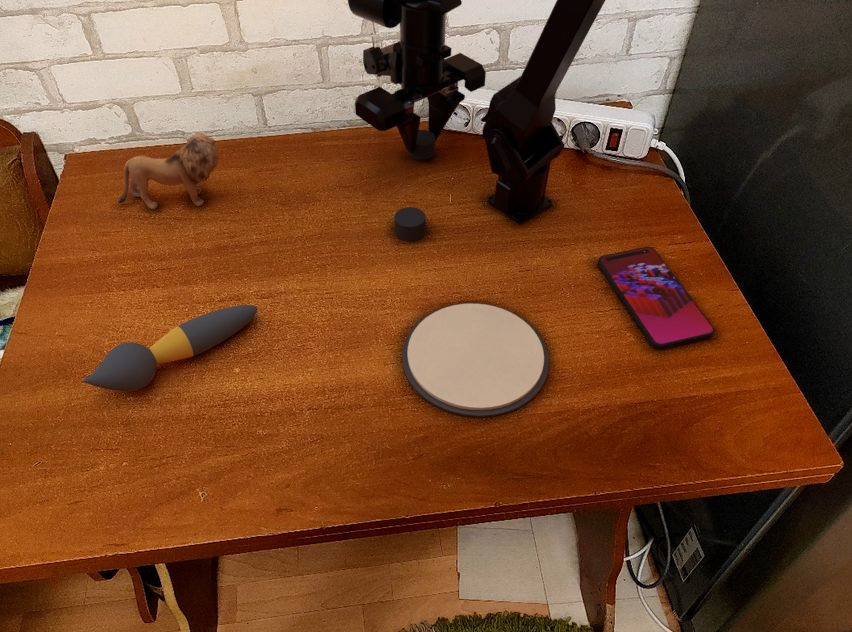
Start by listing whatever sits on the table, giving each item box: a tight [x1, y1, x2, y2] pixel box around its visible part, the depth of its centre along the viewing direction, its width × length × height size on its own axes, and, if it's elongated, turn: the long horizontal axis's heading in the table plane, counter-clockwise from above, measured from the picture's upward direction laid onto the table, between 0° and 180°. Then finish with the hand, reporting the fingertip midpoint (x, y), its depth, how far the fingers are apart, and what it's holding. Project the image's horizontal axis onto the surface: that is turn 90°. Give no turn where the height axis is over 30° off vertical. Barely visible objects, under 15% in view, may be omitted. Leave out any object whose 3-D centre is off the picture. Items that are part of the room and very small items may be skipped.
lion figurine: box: [117, 132, 220, 210], centre depth 90 cm, size 15×5×9 cm, turn 103°
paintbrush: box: [80, 304, 258, 392], centre depth 74 cm, size 20×5×5 cm, turn 134°
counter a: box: [407, 129, 436, 161], centre depth 98 cm, size 4×4×2 cm
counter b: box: [393, 206, 427, 242], centre depth 88 cm, size 4×4×2 cm
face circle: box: [401, 302, 550, 418], centre depth 75 cm, size 16×16×1 cm
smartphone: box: [597, 246, 716, 350], centre depth 80 cm, size 8×1×15 cm
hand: (421, 145), depth 99 cm, fingers closed on counter a, 4 cm apart
